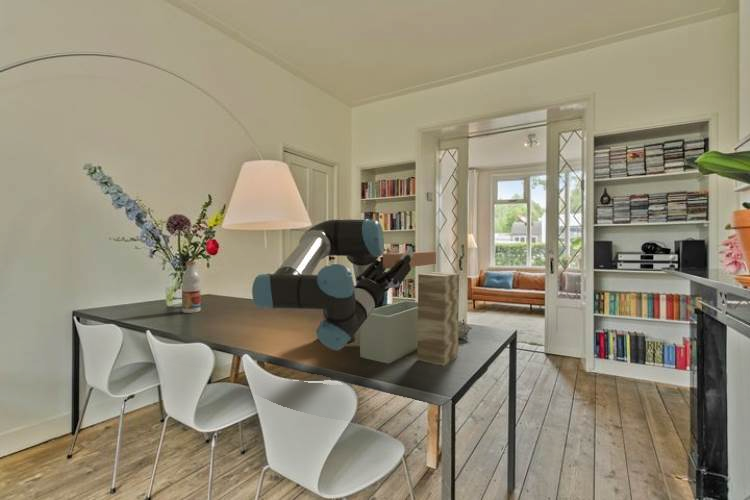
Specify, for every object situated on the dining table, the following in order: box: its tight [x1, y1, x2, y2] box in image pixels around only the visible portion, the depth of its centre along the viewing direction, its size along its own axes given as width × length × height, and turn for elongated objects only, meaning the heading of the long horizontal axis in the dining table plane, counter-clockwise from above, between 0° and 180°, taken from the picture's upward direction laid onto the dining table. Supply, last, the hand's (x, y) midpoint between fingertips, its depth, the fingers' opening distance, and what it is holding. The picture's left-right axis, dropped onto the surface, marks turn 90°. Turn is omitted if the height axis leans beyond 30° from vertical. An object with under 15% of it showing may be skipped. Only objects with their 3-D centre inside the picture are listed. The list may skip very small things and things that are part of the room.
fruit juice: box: [181, 261, 202, 314], centre depth 205 cm, size 9×9×28 cm
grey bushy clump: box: [458, 318, 473, 340], centre depth 154 cm, size 9×8×10 cm
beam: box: [382, 251, 437, 270], centre depth 112 cm, size 26×4×4 cm, turn 145°
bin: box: [359, 300, 418, 365], centre depth 138 cm, size 31×12×16 cm, turn 145°
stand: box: [416, 271, 460, 367], centre depth 128 cm, size 12×10×30 cm
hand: (404, 250), depth 108 cm, fingers closed on beam, 4 cm apart
